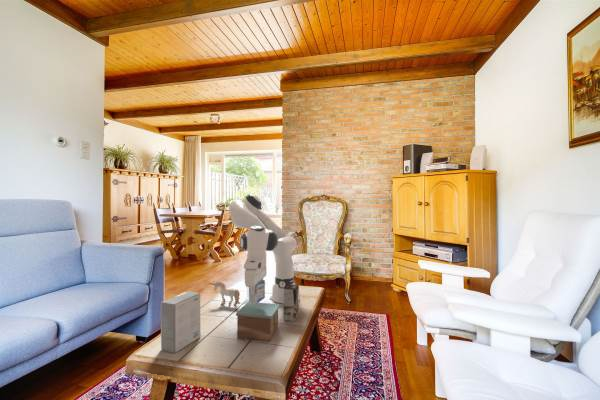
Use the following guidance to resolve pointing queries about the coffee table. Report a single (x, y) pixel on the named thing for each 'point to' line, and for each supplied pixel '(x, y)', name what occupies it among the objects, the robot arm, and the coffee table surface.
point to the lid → (258, 310)
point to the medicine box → (258, 292)
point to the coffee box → (291, 302)
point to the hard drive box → (180, 321)
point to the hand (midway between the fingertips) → (256, 291)
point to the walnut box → (257, 328)
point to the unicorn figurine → (227, 292)
